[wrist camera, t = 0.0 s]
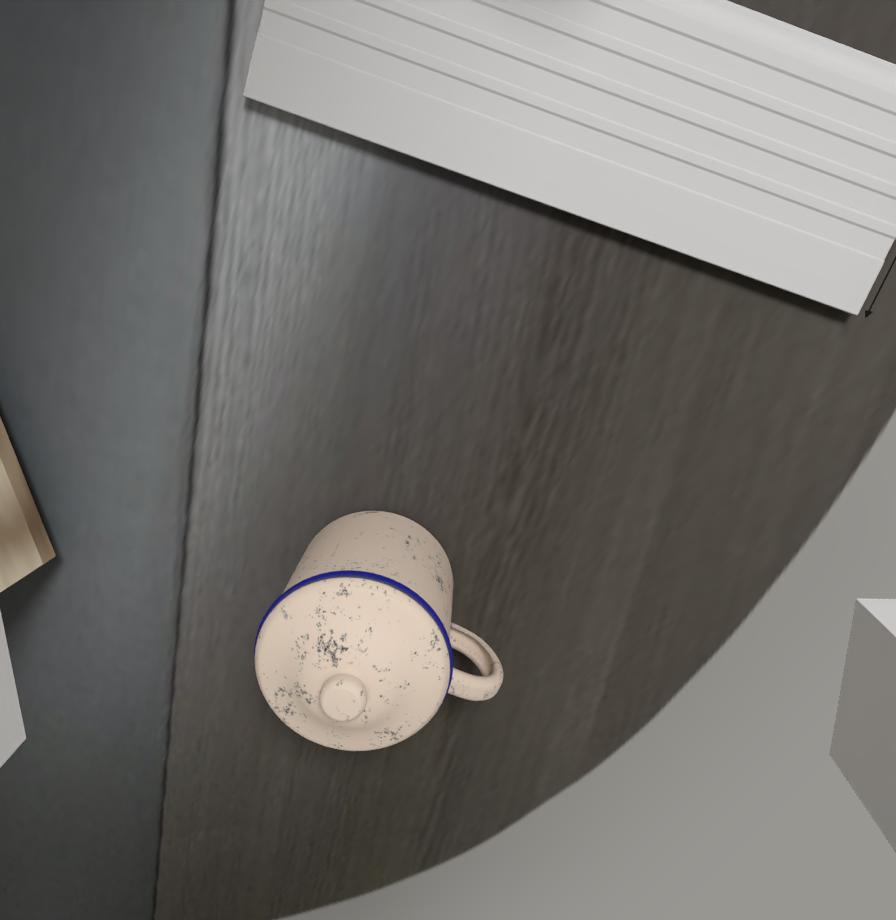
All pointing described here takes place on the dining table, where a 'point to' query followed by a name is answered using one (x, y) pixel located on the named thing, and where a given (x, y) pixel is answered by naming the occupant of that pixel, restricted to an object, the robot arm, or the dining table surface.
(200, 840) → the dining table surface
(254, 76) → the baseboard
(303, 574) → the teacup with lid
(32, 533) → the plank
